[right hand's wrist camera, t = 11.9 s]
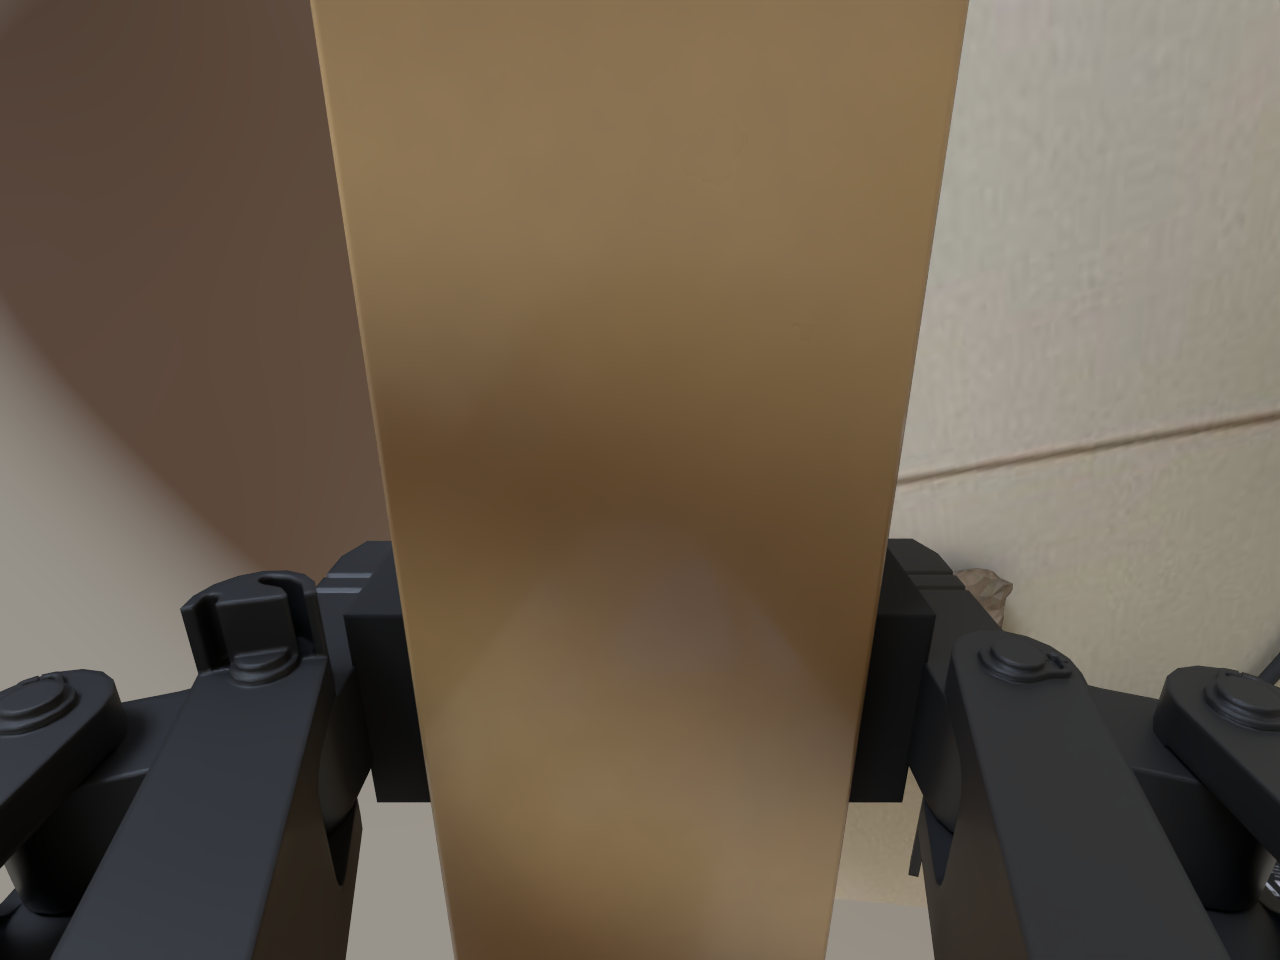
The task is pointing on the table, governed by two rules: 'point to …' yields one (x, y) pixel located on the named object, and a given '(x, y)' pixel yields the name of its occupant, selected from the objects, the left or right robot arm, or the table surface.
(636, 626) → the post
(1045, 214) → the table surface
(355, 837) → the right robot arm
